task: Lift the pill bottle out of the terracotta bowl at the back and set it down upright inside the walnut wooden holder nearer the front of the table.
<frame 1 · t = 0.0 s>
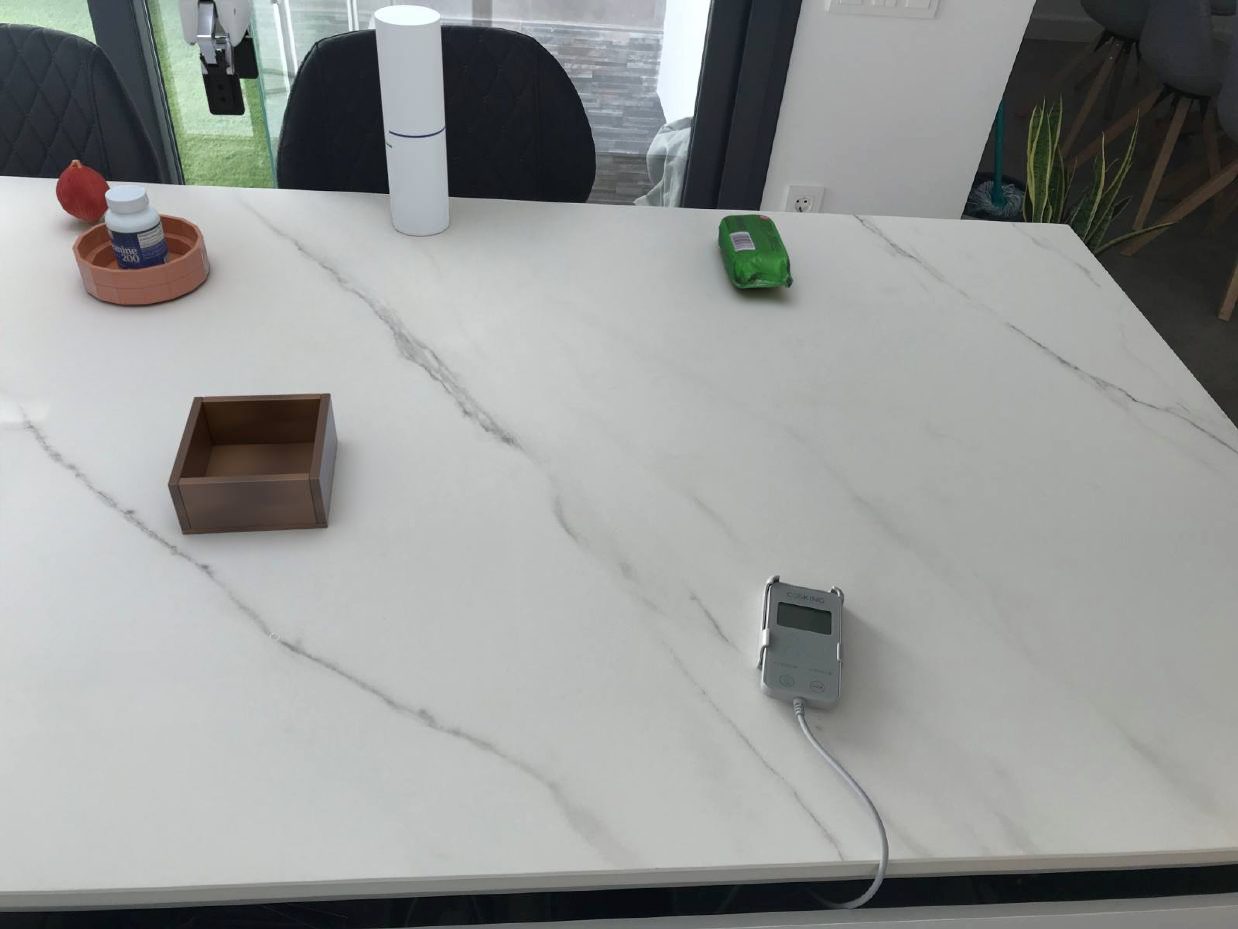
hand: (235, 95, 98), 21 cm above the table, tool pointing down, fingers open, 9 cm apart
snack package: (749, 273, 121), on the table
holder: (264, 484, 86), on the table
bowl: (148, 276, 110), on the table
cylindrical container: (421, 223, 124), on the table
onion: (93, 224, 118), on the table
pill bottle: (148, 275, 110), resting on bowl
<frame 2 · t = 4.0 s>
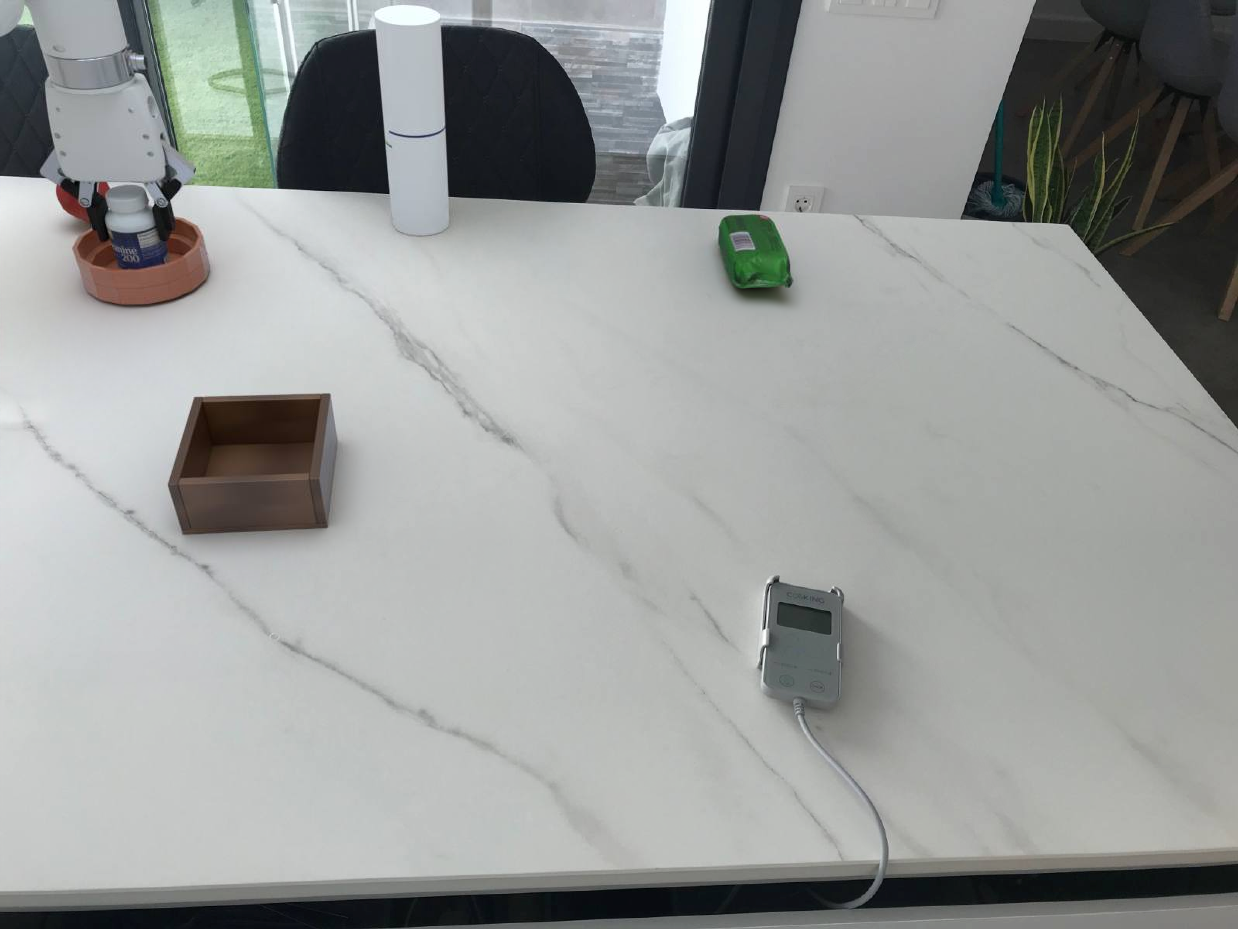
hand: (136, 234, 107), 5 cm above the table, tool pointing down, fingers closed on pill bottle, 5 cm apart
pill bottle: (148, 275, 110), resting on bowl, touching gripper
everything else where it was.
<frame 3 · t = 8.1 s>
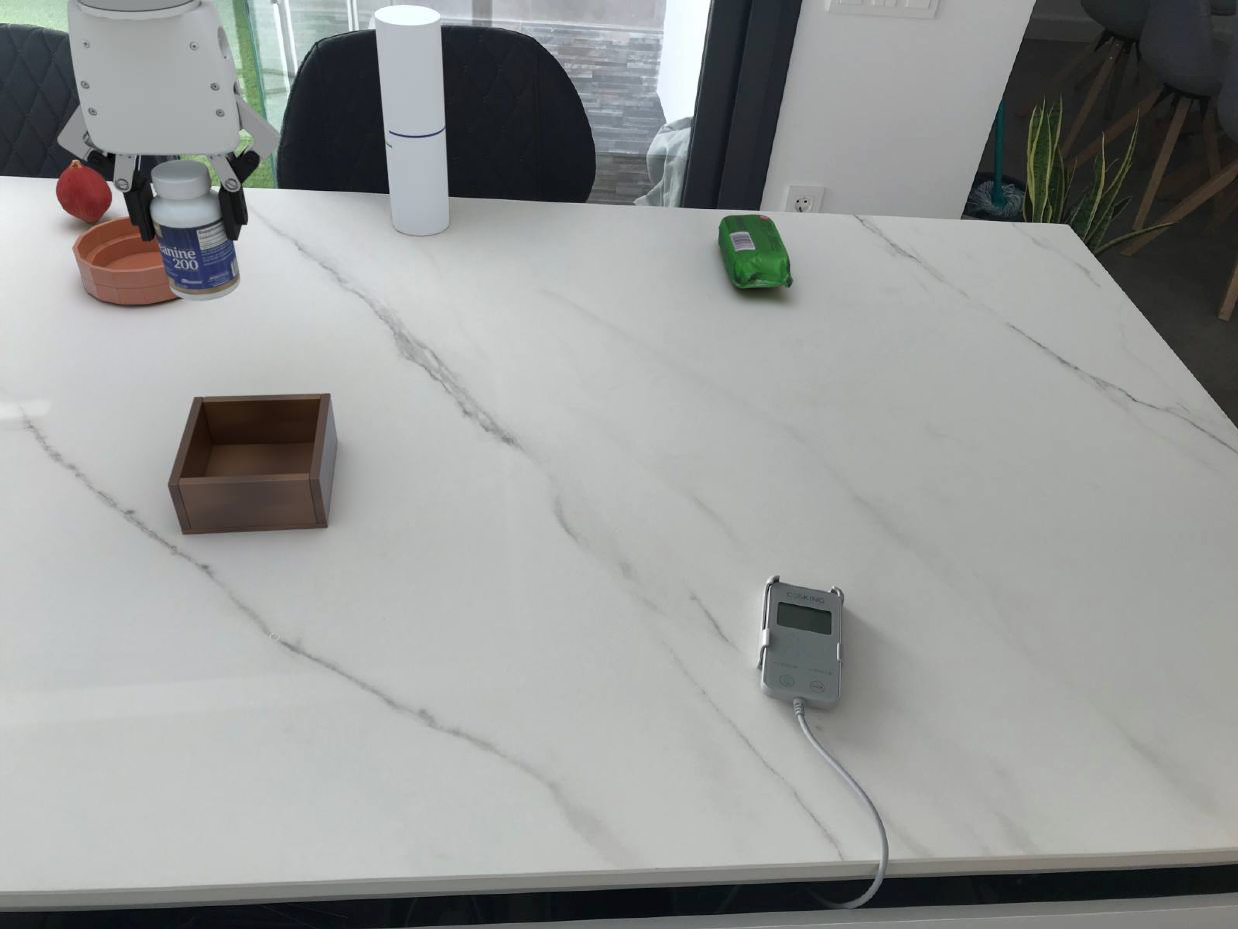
hand: (193, 230, 75), 22 cm above the table, tool pointing down, fingers closed on pill bottle, 5 cm apart
pill bottle: (206, 287, 79), point 17 cm above the table, touching gripper
everything else where it was.
when the fingers open (5 cm above the table, at t = 12.6 s): pill bottle stays where it is, resting on holder.
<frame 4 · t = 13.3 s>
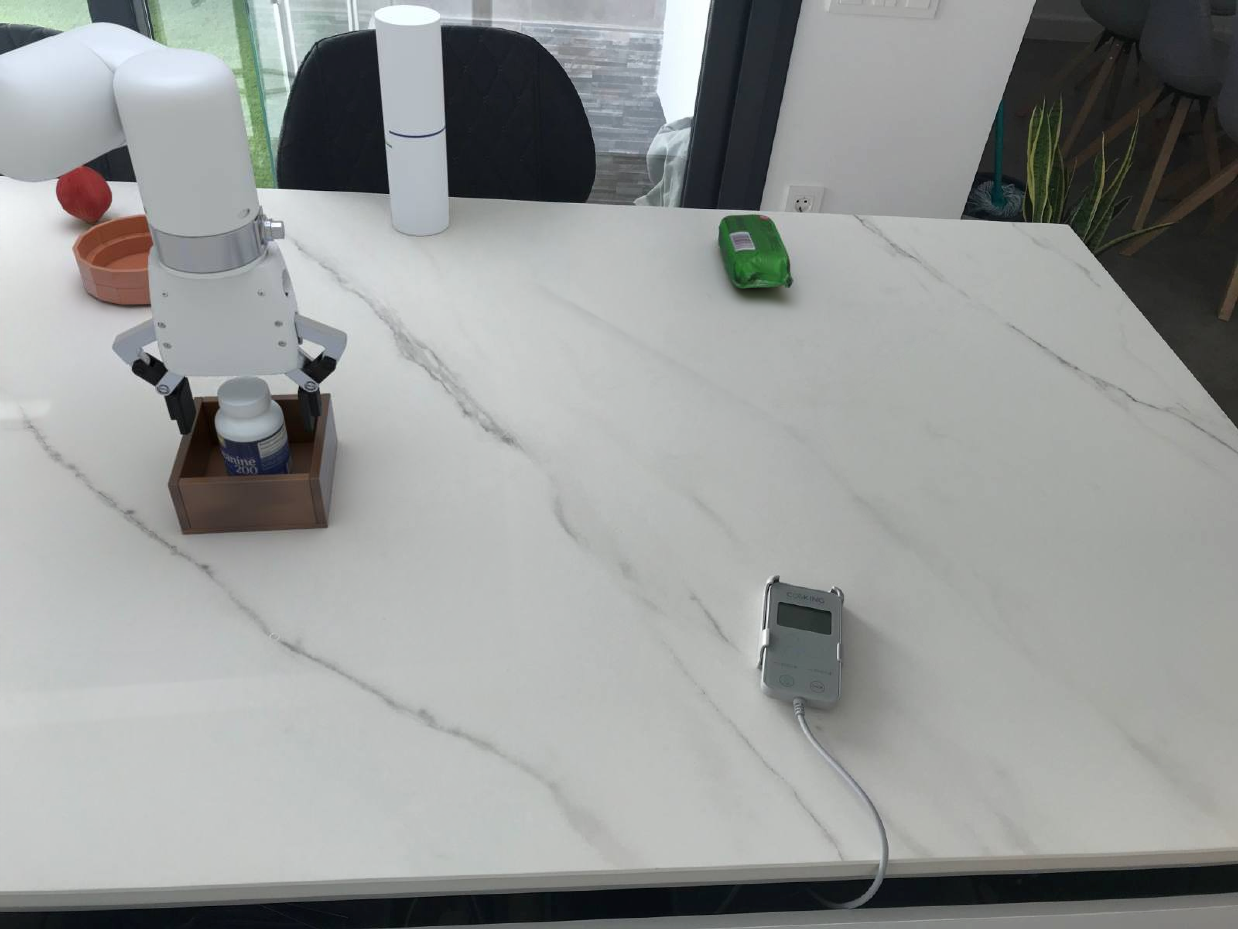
hand: (250, 422, 81), 7 cm above the table, tool pointing down, fingers open, 9 cm apart
pill bottle: (263, 481, 86), resting on holder
everything else where it was.
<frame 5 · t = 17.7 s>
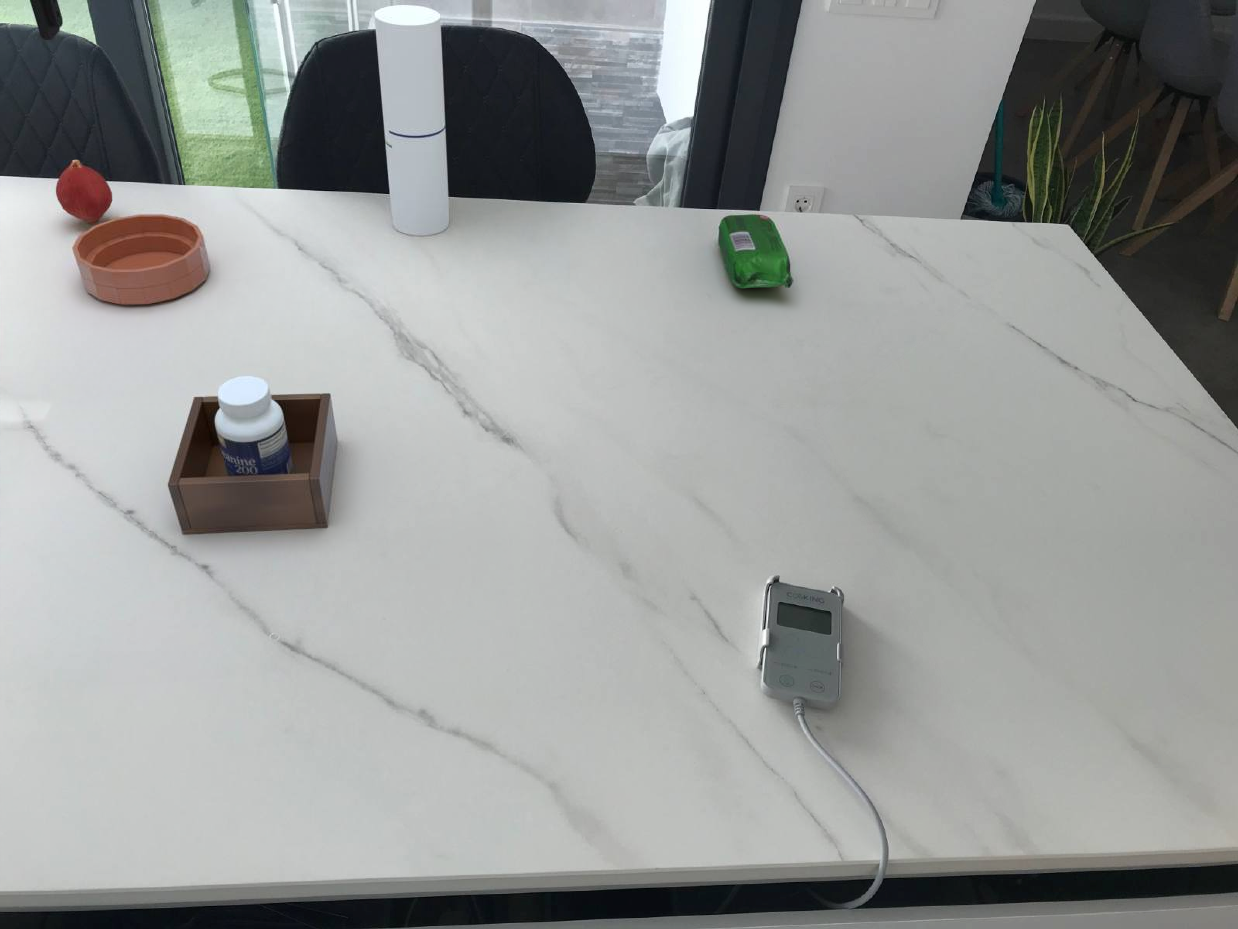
nothing on the table moved.
at the end: pill bottle inside the target area in the holder (0.1 cm from its centre), point 0.3 cm above the holder's base; pill bottle tilted 0°; the gripper is holding nothing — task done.
